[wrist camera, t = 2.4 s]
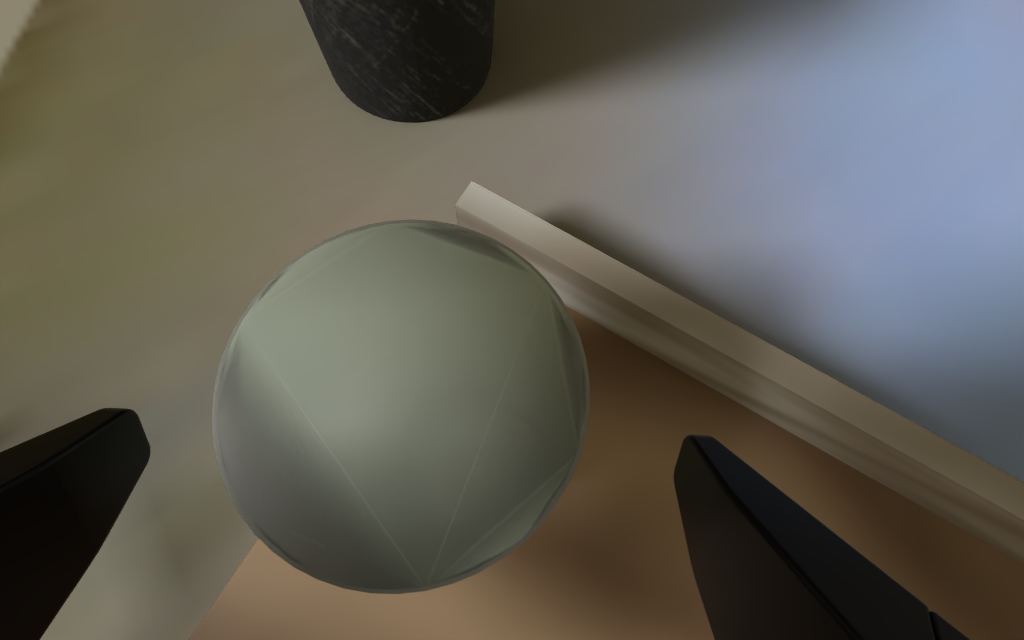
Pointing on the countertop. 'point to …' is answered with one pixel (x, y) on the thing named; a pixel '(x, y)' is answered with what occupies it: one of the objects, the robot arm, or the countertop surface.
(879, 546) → the shelf board
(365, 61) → the travel mug
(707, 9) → the countertop surface
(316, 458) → the tea tin
